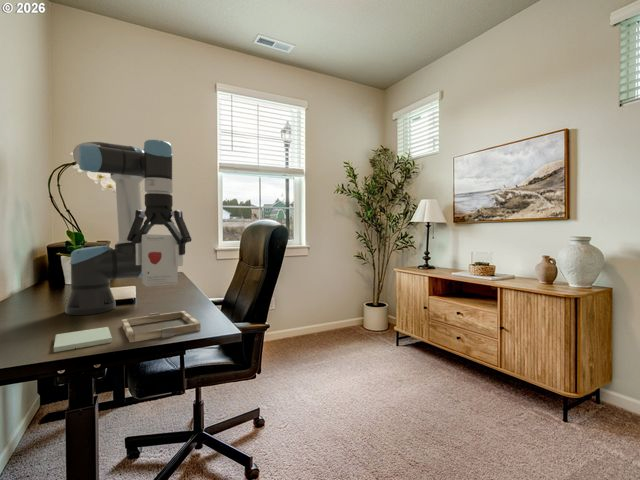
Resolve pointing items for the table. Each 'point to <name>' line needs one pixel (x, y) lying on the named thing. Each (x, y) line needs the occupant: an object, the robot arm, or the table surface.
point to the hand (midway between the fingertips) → (159, 265)
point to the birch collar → (163, 332)
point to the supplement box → (159, 260)
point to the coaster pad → (82, 339)
